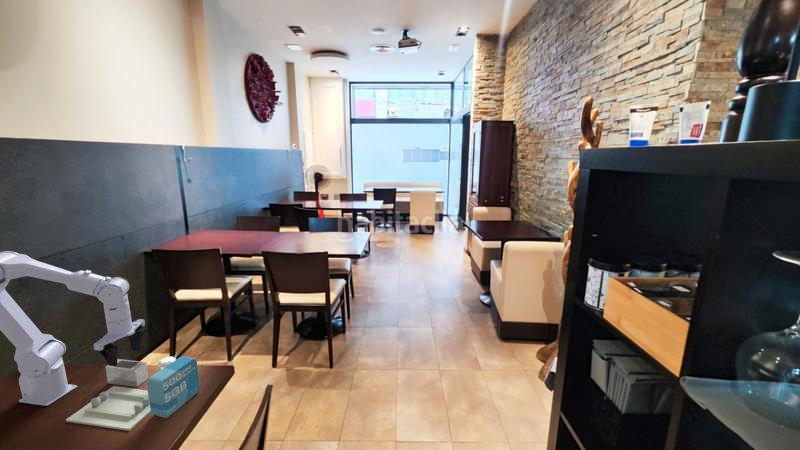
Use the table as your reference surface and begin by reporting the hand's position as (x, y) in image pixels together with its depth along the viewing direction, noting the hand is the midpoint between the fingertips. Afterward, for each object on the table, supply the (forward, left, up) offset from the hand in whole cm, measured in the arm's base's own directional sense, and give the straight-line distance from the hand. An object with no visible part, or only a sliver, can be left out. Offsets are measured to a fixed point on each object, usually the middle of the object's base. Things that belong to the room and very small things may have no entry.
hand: (125, 357), depth 101 cm
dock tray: (+8, -10, -8) cm, 15 cm away
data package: (+22, -6, -9) cm, 24 cm away
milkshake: (+14, +1, -8) cm, 16 cm away
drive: (0, 0, -8) cm, 8 cm away
